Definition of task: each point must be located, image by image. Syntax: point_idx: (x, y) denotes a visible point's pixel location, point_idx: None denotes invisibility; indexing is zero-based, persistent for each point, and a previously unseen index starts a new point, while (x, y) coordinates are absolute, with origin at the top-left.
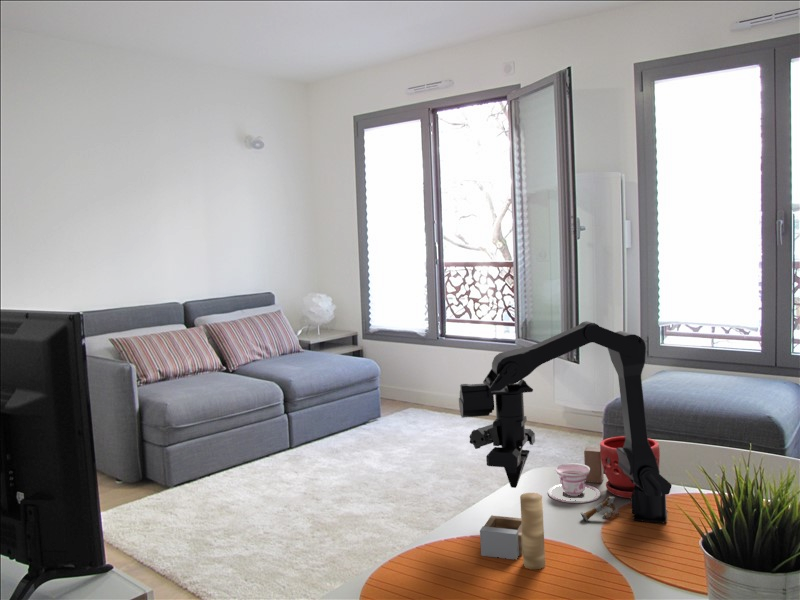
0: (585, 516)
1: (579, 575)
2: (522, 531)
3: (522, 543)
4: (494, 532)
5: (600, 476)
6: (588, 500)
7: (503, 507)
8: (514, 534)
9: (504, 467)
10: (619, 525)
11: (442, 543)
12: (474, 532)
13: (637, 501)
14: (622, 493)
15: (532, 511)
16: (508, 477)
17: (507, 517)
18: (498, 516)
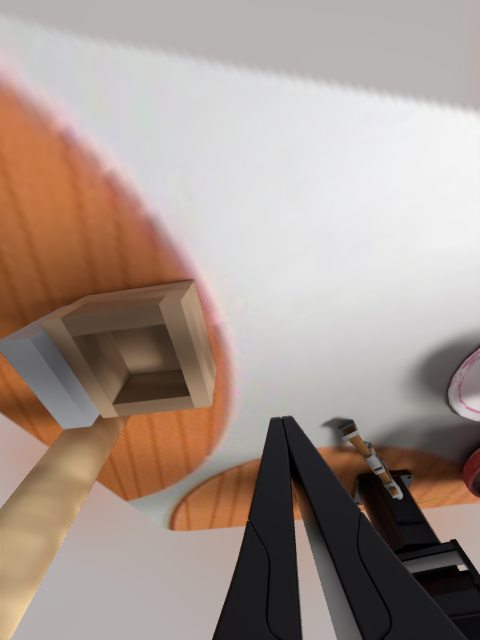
0: (342, 437)
1: (126, 458)
2: (29, 473)
3: (63, 434)
4: (27, 383)
5: None
6: (457, 412)
7: (416, 225)
8: (61, 426)
9: (218, 626)
10: (333, 463)
11: (33, 143)
12: (179, 219)
13: (387, 515)
14: (475, 465)
15: None
16: (256, 484)
17: (191, 354)
18: (184, 327)
